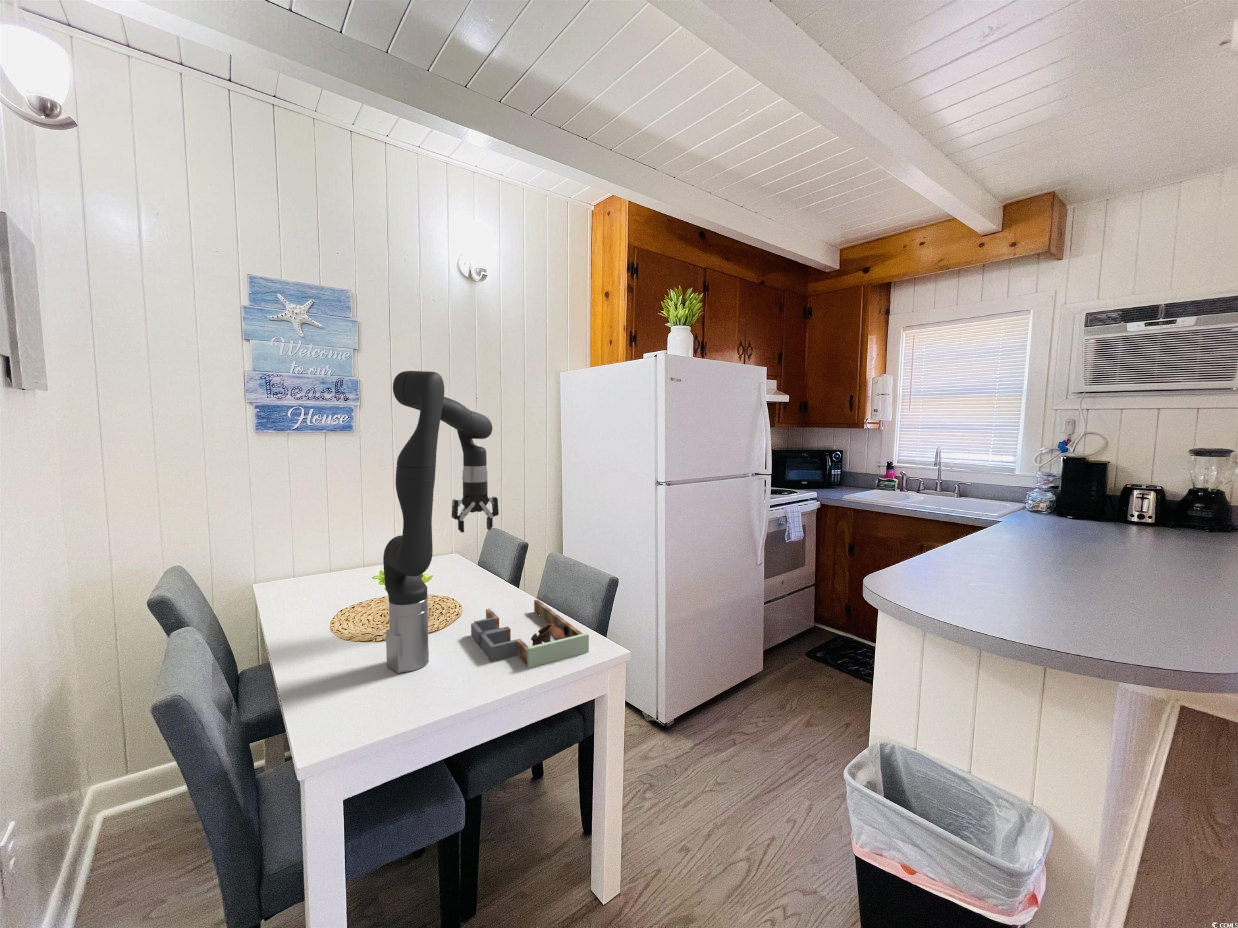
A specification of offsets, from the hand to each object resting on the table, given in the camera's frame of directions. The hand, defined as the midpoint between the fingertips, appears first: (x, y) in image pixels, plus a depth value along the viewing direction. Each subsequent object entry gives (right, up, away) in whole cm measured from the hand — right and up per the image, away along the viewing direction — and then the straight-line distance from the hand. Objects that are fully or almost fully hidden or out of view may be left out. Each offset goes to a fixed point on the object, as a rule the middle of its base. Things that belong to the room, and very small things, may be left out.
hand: (475, 530), depth 161 cm
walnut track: (+20, -29, -11) cm, 37 cm away
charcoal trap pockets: (+10, -30, -18) cm, 36 cm away
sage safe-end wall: (+29, -31, -26) cm, 50 cm away
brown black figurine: (+27, -31, -20) cm, 46 cm away
